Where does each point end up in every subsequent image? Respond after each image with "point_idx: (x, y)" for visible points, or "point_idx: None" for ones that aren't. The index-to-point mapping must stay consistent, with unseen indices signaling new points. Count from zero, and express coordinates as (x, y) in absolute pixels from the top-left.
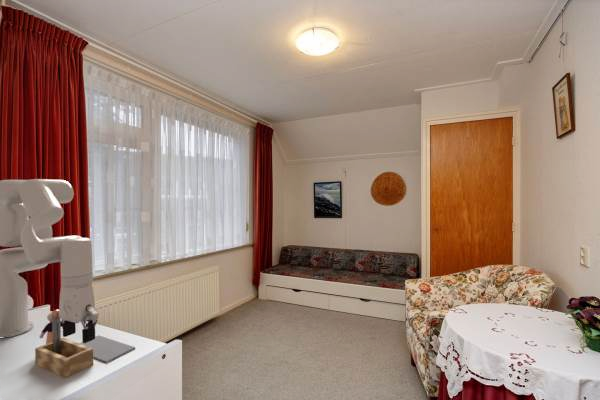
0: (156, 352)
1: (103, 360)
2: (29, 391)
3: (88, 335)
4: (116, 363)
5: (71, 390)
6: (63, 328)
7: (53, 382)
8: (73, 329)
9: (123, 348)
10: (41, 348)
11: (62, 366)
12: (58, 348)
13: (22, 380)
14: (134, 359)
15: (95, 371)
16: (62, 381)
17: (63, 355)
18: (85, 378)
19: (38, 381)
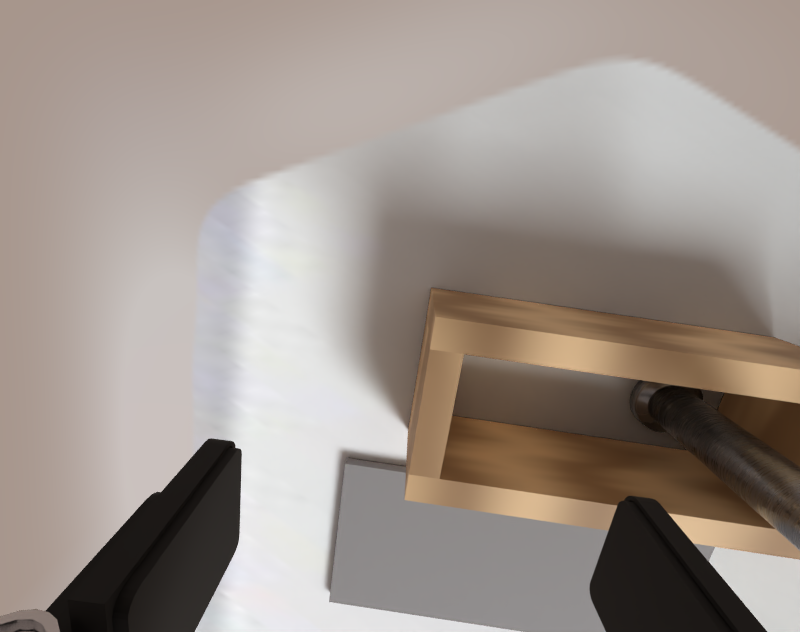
0: None
1: (375, 467)
2: (512, 122)
3: (121, 533)
4: (292, 468)
5: (276, 213)
6: (715, 598)
7: (459, 236)
8: (618, 626)
9: (379, 579)
10: None
11: (467, 307)
12: (704, 447)
13: (681, 189)
14: None
15: (329, 384)
16: (416, 259)
17: (680, 451)
18: (316, 319)
19: (563, 214)
